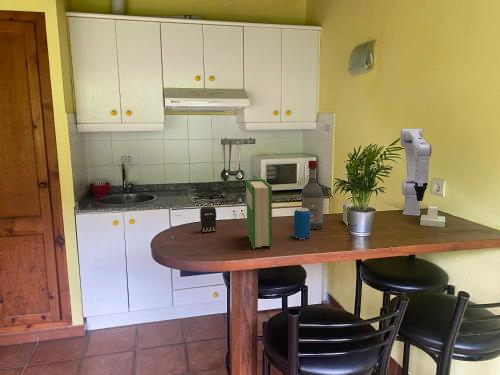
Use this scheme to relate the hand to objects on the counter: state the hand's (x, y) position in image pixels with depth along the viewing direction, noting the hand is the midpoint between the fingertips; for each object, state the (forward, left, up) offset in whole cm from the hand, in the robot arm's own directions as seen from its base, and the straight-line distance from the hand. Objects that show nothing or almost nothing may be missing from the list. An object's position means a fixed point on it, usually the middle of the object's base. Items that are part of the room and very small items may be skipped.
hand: (420, 199), depth 181 cm
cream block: (+2, +6, -8) cm, 10 cm away
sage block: (+2, +6, -10) cm, 12 cm away
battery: (+54, -82, -11) cm, 99 cm away
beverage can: (+46, -42, -11) cm, 63 cm away
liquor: (+29, -43, -11) cm, 53 cm away
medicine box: (+16, -29, -11) cm, 35 cm away
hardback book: (+58, -56, -11) cm, 81 cm away
